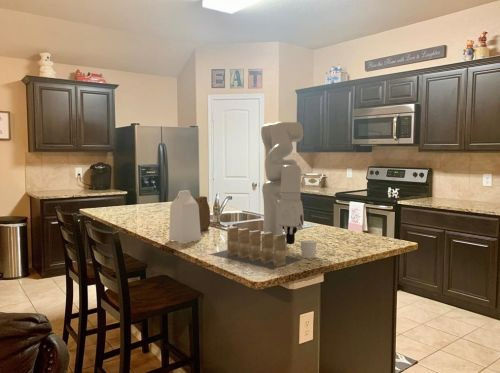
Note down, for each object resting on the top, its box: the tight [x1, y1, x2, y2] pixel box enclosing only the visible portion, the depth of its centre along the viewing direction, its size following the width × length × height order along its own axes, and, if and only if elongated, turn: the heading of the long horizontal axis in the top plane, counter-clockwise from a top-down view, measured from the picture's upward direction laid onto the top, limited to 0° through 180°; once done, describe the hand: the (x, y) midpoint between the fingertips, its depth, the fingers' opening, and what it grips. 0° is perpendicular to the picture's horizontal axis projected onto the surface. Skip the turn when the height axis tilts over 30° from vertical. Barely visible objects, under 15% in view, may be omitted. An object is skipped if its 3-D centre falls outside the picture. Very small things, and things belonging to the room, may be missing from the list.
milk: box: [168, 190, 202, 244], centre depth 214 cm, size 12×12×26 cm
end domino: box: [226, 226, 240, 256], centre depth 181 cm, size 2×5×12 cm, turn 138°
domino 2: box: [249, 229, 262, 261], centre depth 173 cm, size 2×5×12 cm, turn 138°
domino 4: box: [273, 233, 286, 267], centre depth 164 cm, size 2×5×12 cm, turn 138°
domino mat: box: [209, 249, 303, 270], centre depth 177 cm, size 20×36×1 cm, turn 48°
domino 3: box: [261, 232, 274, 263], centre depth 168 cm, size 2×5×12 cm, turn 138°
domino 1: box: [238, 227, 250, 258], centre depth 177 cm, size 2×5×12 cm, turn 138°
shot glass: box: [300, 240, 317, 259], centre depth 178 cm, size 7×7×7 cm
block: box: [193, 195, 211, 232], centre depth 243 cm, size 11×8×20 cm
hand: (290, 243), depth 160 cm, fingers closed
